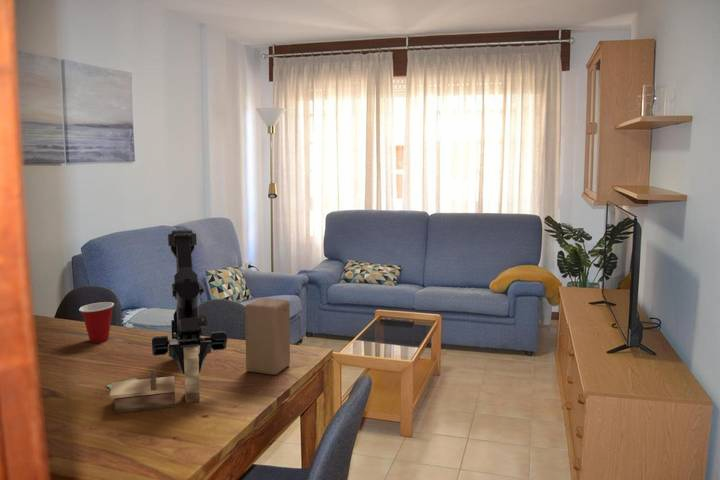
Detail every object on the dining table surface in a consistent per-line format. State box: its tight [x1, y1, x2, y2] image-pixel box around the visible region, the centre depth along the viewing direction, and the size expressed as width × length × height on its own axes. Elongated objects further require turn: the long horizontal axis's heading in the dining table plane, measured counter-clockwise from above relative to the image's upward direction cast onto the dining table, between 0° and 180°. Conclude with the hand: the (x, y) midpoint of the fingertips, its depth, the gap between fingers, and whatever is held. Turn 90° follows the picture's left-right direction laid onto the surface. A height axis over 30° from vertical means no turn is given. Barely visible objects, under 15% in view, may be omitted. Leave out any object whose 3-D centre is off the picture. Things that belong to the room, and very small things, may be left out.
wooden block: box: [244, 297, 291, 376], centre depth 178 cm, size 10×10×20 cm
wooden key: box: [183, 346, 201, 402], centre depth 156 cm, size 4×4×13 cm
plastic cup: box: [78, 301, 115, 343], centre depth 204 cm, size 11×11×12 cm
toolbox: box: [113, 391, 200, 414], centre depth 154 cm, size 20×9×4 cm, turn 108°
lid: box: [109, 369, 176, 400], centre depth 153 cm, size 15×9×3 cm, turn 108°
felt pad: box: [106, 377, 139, 390], centre depth 164 cm, size 8×8×1 cm
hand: (191, 373), depth 155 cm, fingers closed on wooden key, 3 cm apart
